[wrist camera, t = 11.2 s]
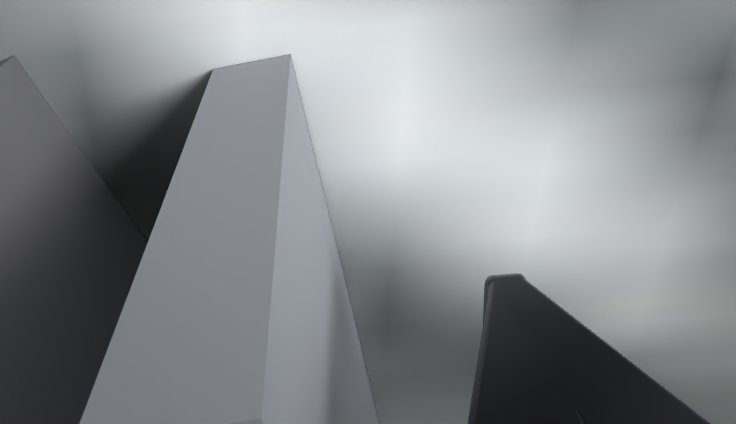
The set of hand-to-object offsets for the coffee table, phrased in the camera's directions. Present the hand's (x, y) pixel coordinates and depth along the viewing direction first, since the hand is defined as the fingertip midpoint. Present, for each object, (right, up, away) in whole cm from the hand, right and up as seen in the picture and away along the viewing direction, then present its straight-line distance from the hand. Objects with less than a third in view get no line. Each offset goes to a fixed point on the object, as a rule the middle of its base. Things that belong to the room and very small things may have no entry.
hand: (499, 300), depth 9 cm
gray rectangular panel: (-2, -2, +5) cm, 6 cm away
